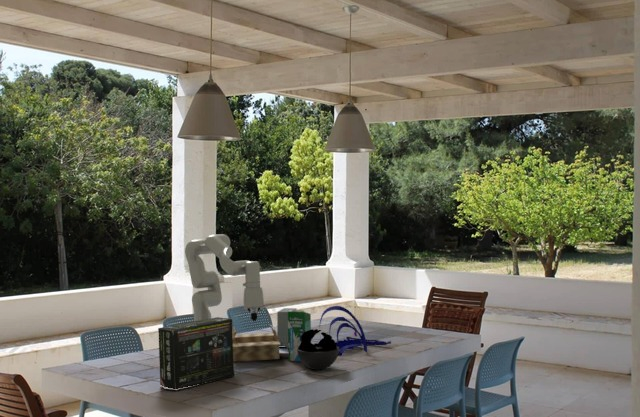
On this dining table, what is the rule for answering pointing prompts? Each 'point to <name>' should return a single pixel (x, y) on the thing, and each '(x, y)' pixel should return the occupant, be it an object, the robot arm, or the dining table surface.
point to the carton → (255, 347)
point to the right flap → (274, 332)
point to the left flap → (233, 332)
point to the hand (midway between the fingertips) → (254, 320)
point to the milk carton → (297, 331)
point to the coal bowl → (317, 350)
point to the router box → (196, 352)
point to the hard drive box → (283, 325)
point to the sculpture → (355, 342)
